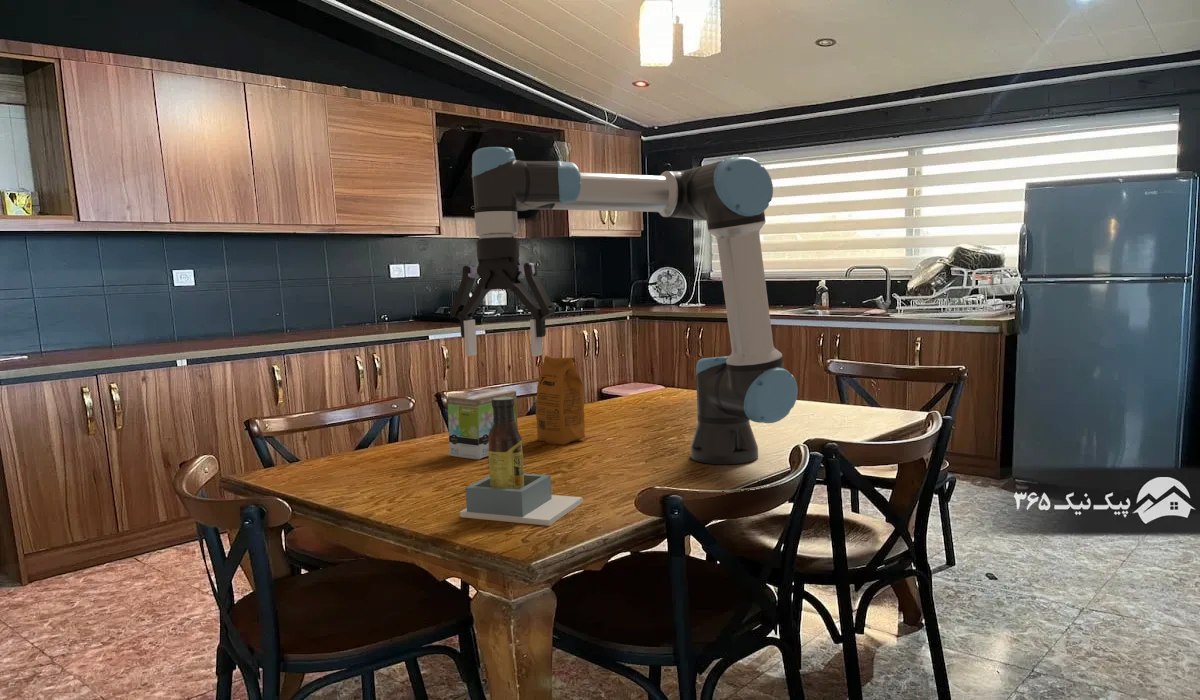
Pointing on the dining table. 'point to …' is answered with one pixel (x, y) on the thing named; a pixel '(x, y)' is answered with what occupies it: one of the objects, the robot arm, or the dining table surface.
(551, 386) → the coffee package
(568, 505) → the bottle dock
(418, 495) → the dining table surface
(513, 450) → the sauce bottle
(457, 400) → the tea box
